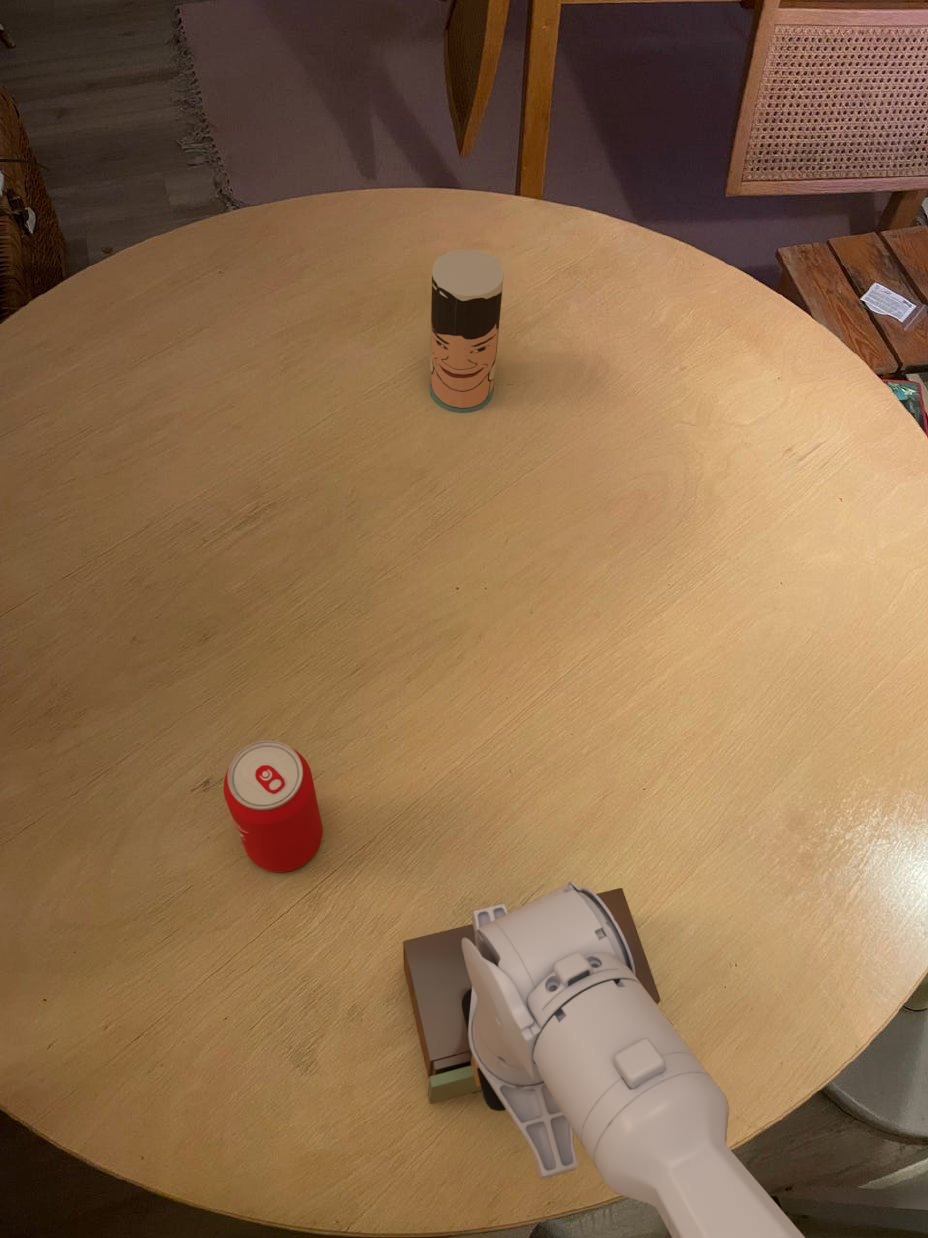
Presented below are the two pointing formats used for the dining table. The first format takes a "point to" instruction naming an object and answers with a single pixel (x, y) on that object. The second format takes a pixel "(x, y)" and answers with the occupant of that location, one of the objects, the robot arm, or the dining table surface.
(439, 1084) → the green drawer
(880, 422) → the dining table surface
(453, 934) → the cabinet
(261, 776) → the beverage can
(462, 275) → the tan and black cylinder
